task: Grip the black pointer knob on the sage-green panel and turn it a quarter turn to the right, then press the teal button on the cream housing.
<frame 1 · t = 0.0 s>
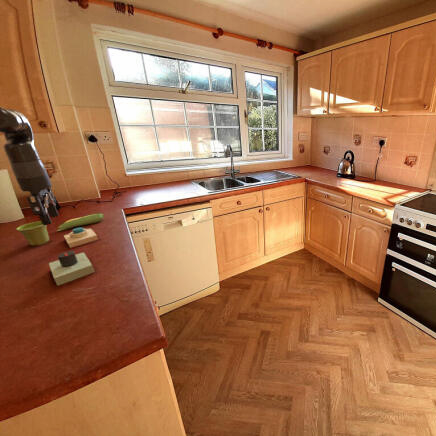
hand: (51, 220, 86), 17 cm above the countertop, tool pointing down, fingers open, 8 cm apart
button: (78, 230, 109), point 4 cm above the countertop, slide at 0.1 cm
plant pot: (40, 243, 109), on the countertop
button box: (81, 239, 111), on the countertop
green cucumber: (82, 225, 127), on the countertop
panel: (73, 271, 87), on the countertop
dial: (67, 258, 85), point 5 cm above the countertop, hinge at 0.0°
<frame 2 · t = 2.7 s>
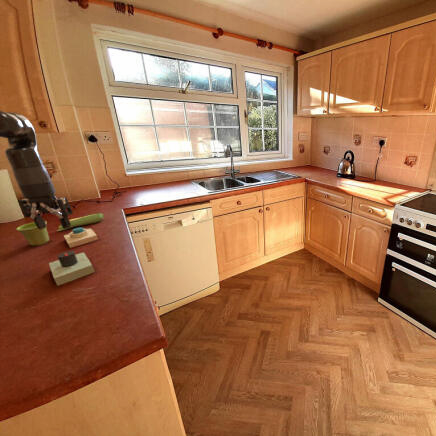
hand: (55, 227, 82), 16 cm above the countertop, tool pointing down, fingers open, 8 cm apart
nothing on the countertop moved.
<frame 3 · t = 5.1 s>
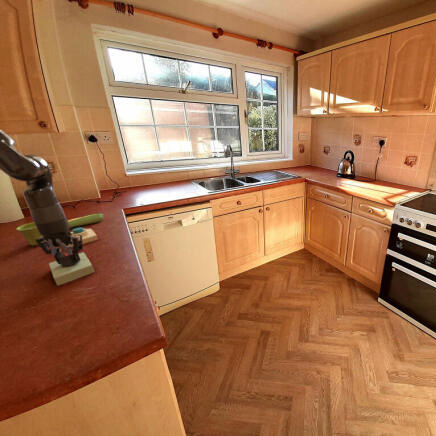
hand: (69, 262, 86), 4 cm above the countertop, tool pointing down, fingers closed on dial, 4 cm apart
dial: (67, 258, 85), point 5 cm above the countertop, hinge at 0.1°, touching gripper
everything else where it was.
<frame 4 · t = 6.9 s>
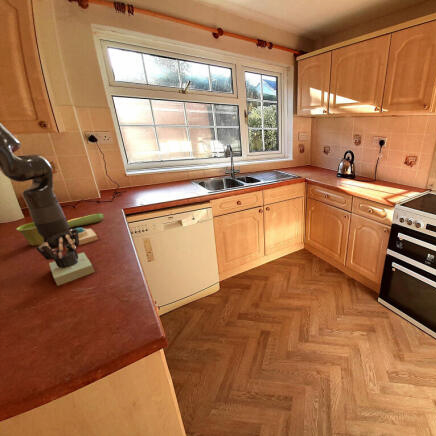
hand: (69, 262, 86), 3 cm above the countertop, tool pointing down, fingers closed on dial, 4 cm apart
dial: (67, 258, 85), point 5 cm above the countertop, hinge at -91.8°, touching gripper
everything else where it was.
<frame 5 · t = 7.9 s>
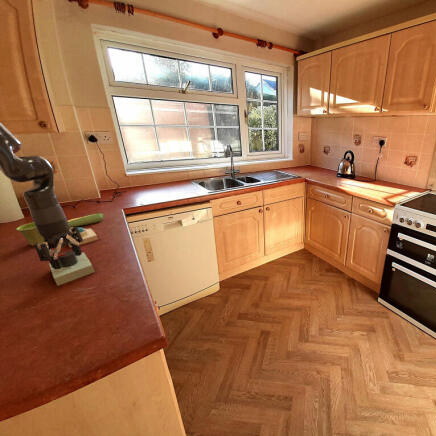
hand: (68, 261, 85), 4 cm above the countertop, tool pointing down, fingers open, 8 cm apart
dial: (67, 258, 85), point 5 cm above the countertop, hinge at -91.7°
everything else where it was.
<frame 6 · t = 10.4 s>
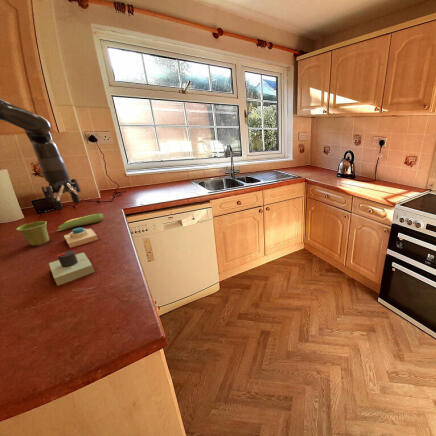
hand: (68, 206, 104), 16 cm above the countertop, tool pointing down, fingers open, 8 cm apart
nothing on the countertop moved.
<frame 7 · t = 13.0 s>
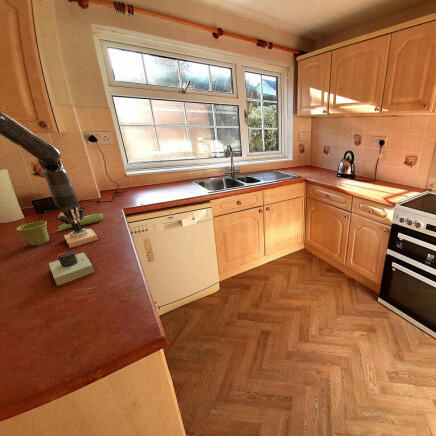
hand: (78, 230, 109), 5 cm above the countertop, tool pointing down, fingers closed
button: (79, 232, 109), point 4 cm above the countertop, slide at -0.8 cm, touching gripper
everything else where it was.
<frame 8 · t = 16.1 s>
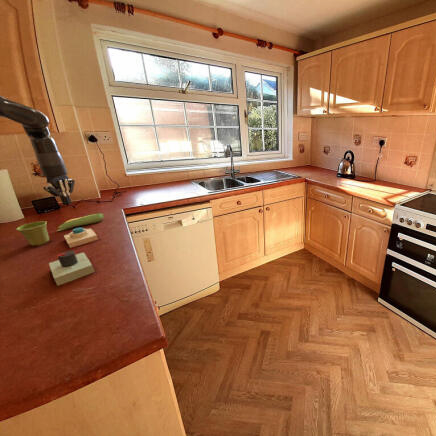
hand: (67, 204, 104), 17 cm above the countertop, tool pointing down, fingers closed
button: (78, 230, 109), point 4 cm above the countertop, slide at 0.1 cm
everything else where it was.
at the end: dial at -92° (first picture: +0°); button pushed in 1.1 cm at the most during the clip, back to where it started at the end; button slide at 0.1 cm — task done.
